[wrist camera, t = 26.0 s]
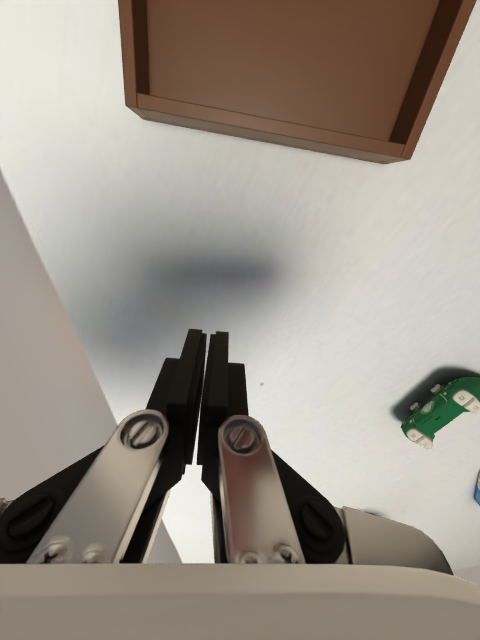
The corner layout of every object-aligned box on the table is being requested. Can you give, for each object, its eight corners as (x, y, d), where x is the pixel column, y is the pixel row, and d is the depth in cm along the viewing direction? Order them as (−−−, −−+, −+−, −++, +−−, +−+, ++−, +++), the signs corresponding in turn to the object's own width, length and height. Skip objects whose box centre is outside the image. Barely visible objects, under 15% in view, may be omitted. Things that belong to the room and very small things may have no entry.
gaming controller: (457, 359, 25) (461, 373, 20) (498, 385, 23) (514, 407, 19) (395, 412, 29) (388, 434, 24) (427, 438, 27) (425, 467, 23)
